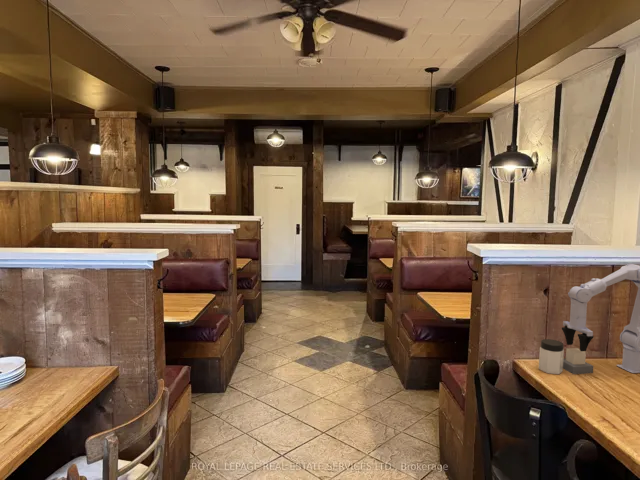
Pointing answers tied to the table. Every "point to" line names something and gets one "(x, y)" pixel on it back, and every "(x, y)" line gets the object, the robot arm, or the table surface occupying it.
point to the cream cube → (575, 356)
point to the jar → (551, 356)
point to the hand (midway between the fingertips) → (576, 347)
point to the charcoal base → (577, 367)
